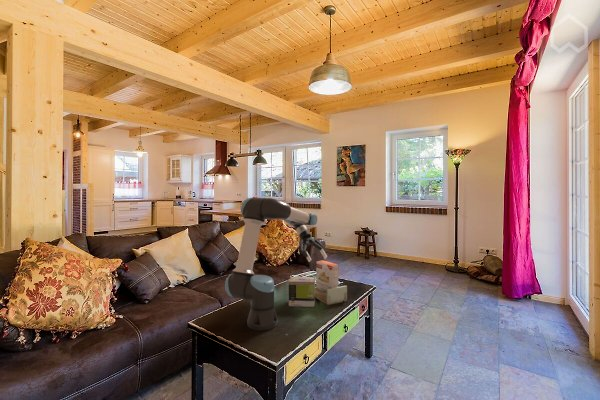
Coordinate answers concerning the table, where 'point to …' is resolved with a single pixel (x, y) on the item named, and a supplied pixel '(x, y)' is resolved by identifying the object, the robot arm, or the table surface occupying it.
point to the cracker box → (326, 275)
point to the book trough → (332, 295)
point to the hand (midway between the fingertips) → (318, 259)
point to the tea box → (302, 291)
